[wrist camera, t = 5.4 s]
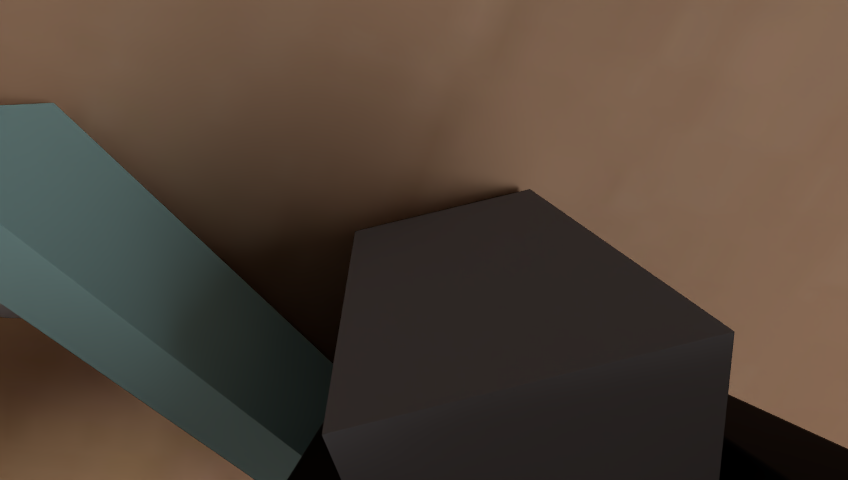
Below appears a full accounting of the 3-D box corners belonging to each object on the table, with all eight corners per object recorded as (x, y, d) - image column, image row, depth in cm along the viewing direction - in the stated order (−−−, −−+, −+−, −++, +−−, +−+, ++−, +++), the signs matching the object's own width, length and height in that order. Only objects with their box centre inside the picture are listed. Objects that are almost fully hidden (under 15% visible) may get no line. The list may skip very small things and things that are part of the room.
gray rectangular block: (553, 392, 11) (701, 652, 6) (415, 427, 11) (445, 720, 6) (529, 189, 9) (734, 331, 4) (354, 231, 9) (321, 434, 4)
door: (491, 511, 12) (527, 629, 10) (442, 542, 13) (463, 666, 10) (53, 103, 7) (-147, 112, 4) (-23, 168, 7) (-260, 218, 4)
